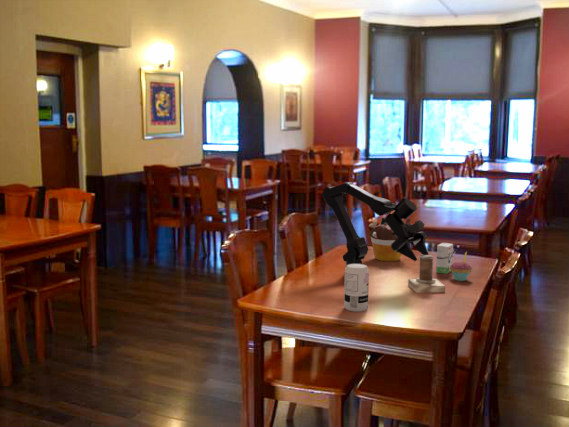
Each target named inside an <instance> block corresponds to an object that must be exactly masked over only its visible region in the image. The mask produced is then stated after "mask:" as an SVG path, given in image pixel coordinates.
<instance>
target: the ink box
mask: <svg viewBox="0 0 569 427" xmlns="http://www.w3.org/2000/svg"><path fill="white" fill-rule="evenodd" d="M436 249H437V250H436V269H435V273H436V274H437V273H438V274H446V275H448V274H449V273H451V272H452V271H451V270H450V266H451V265H452V264H453V261H454V260H453V259H454V256H453V255H454V244H453V243H449V242H441V243H439V244H437V245H436Z"/></svg>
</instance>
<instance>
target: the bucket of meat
mask: <svg viewBox="0 0 569 427" xmlns="http://www.w3.org/2000/svg"><path fill="white" fill-rule="evenodd" d="M404 223H405V224H409V225H412V223H411V218H410V217H408V218H407V219H405V221H404ZM368 224H369V223H368ZM377 224H378V221H377V220H374V221H373V222H372V223H370V224H369V225H368V227H369V228H372V229H371V230H370V231H369V234H370V241H371V245H372V251H373V255H374V256H373V257H374V258H375V259H376V260H378V261H380V262H386V263H388V262H391V263H392V262H393V263H394V262H398V261H400V259H401V257H402V254H401V253H399V252H396V251H393V250H392V248H391V244H392V243H393V242H394V241H395V240H396V239H397V237H396V235H395V236H393V235H392V233H393V231H392V230H391V228H390V227H389V226H388V224H384V225H381V221H380V222H379V224H378V225H377Z"/></svg>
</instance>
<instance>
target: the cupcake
mask: <svg viewBox="0 0 569 427" xmlns="http://www.w3.org/2000/svg"><path fill="white" fill-rule="evenodd" d="M467 253H468V251H467V250H466V252H464V256H463V260H462V261H461V262H460V261H457V262H454V263H453V262H452V265H451V266H450V270H451V271H450V272H452V275H453V280H455V281H459V282H460V281H462V282H463V281H466V280H467V279H468V276H469V274H471V272H472V271H473V270H472V268H473V267H472V266H471V265H470V264H469V263H467V262H466V258H467Z"/></svg>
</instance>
